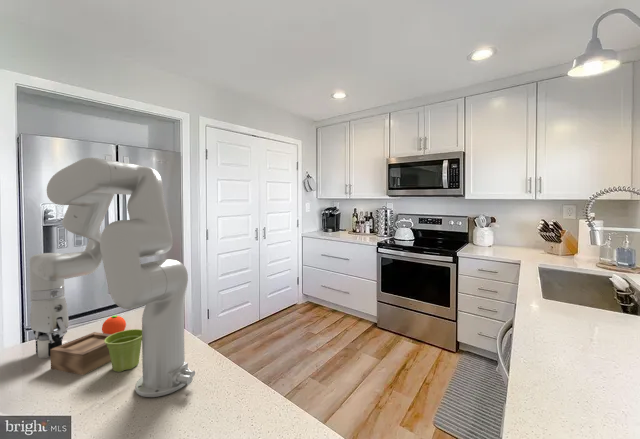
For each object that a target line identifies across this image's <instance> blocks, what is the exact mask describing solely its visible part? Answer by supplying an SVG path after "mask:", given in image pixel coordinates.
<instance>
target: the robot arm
mask: <svg viewBox="0 0 640 439" xmlns="http://www.w3.org/2000/svg"><path fill="white" fill-rule="evenodd" d="M46 195H47V198H48V199H49V202H51V203H53V204H55V205H58V206H68V207H67V209H66V211H65V214H64V216H63V219H62V221H61V224H62V227H63V229H65V230H66V231H67V232H69V233H71V234H74V235H76V236H80V237H82V238H87V239H88V242H87V244H86V247H85V249H84V251H76V252H75V251H74V252H69V253H59V252H43V253H37V254H34V255H33V254H32V256H31V257H30V258H29V296H30V301H29V302H31V305H30V314H29V315H30V317H29V318H30V319H29V321H30V329H31V330H32V331H33V335H34V340H35V354H37V355H38V345H37V340H38V339H39V336H41V335H43V334H46V333H48V335H49V340H50V343H48V355H49V356H50V349H53V348H55V347H58V346H60V345H63V340H64V337H65V335H66V334H67V333H68V328H69V327H70V326H69V312H68V311H69V310H68V305H67V300H66V297H65V280H68V279H73V278H77V277H83V276H87V275H88V276H89V275H92V274H93V273H95V272H96V271H98V268H99V267H100V265H101V263H102V265H103V270H104V272H105V277H106V282H107V286H108V291H109V294H110V296H111V299H112V300H113V302H114V304H115V305H117V306H118V307H119V308H122V309H124V310H129V309H136V308H140V307H143V306H144V309H143V312H142V316H141V330H142V342H141V347H142V348H141V351H142V352H141V354H142V355H141V357H142V358H141V360H142V363H141V364H142V376H141V377H140V378H138V380H137V381H136V382H135V392H136V394H137V395H139V396H141V397H144V398H145V397H146V398H155V397H156V398H157V397H162V396H166V395H169V394H172V393H174V392H176V391H179V390H180V389H182V388H183V387H185V386H186V385H191V383H192V382H193V379H194V378H193V377H194V376H196V375H195V374H196V372H195V370H191V369H190V368H189V365H188V364H189V362H186V361H185V299H186V292H187V288H188V287H187V286H188V281H189V274H188V270H187V268H186V266H185V265H184V264H183V262H180V261H178V260H176V259H170V258H169V259H161V260H160V259H159V260H154V261H149V262H146V263H141V262H142V261H141V259H145V258H151V257H155V256H160V255H163V254H166V253H168V252H169V251H170V250H171V249H172V247H173V244H174V240H173V233H172V227H171V224H170V219H169V214H168V211H167V207H166V203H165V194H164V184H163V179H162V177H161V175H160V173H159V172H158V171H157V170H155V169H153V168H152V167H149V166H145V165H141V164H135V163H128V162H125V161H116V160H110V159H104V158H100V157H99V158H98V157H86V158H82V159H79V160H77V161H75V162H72V163H71V164H70V165H67V166H65V167H64V168H62V169H60V170H59V171H57V172H56V173H55V174H54V175H53V176H51V178H50V179H49V181H48V183H47V184H46ZM115 195H127V196H129V199H128V201H127V205H126V206H127V208H126V209H127V213H128V217H129V219H121V220H116V221H112V222H110V223H109V224H107V225H106V226H105V227H104V229H103V230H102V232H101V231H100V228H101V225H102V224H103V221H104V219H105V216H106V215H107V212H108V210H109V208H110V205H111V203H112V201H113V198H114V196H115ZM56 329H57V330H56ZM54 333H58V334H56V335H55V336H53V334H54Z"/></svg>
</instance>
